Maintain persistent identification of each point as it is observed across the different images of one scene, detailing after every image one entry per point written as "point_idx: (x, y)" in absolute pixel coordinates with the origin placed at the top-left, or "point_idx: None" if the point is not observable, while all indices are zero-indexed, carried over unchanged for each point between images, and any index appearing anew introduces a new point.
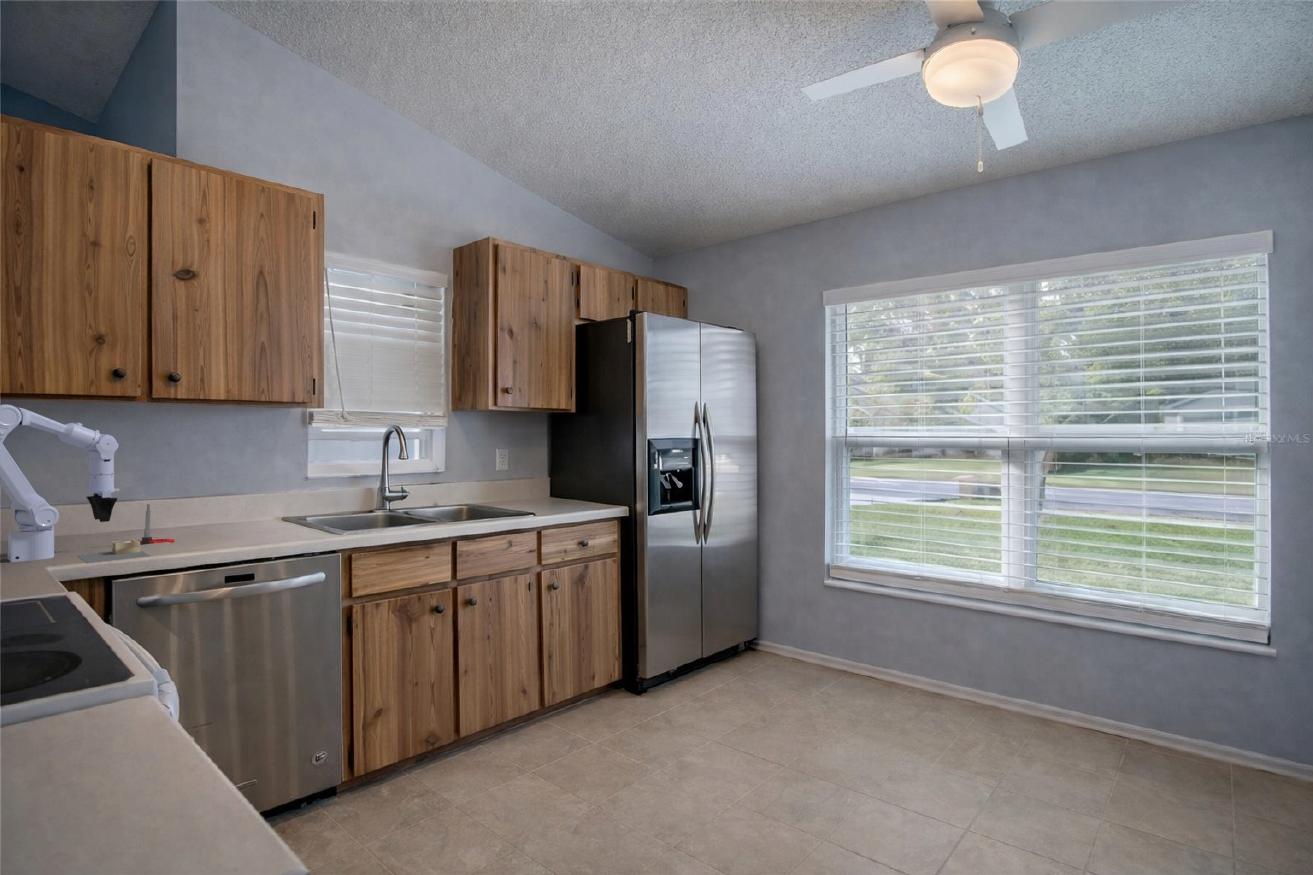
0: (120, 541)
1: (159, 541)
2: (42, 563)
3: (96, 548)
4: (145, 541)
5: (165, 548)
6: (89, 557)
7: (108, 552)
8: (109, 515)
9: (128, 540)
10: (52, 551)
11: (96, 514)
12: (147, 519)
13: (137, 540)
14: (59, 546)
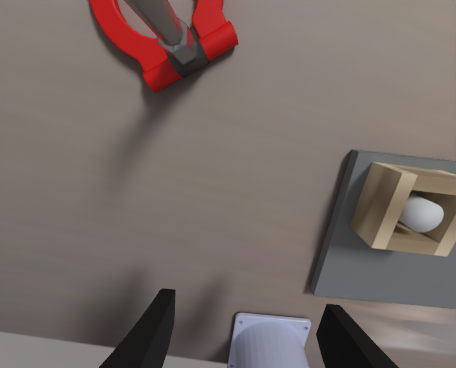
0: (393, 227)
1: (212, 4)
2: (307, 338)
3: (140, 206)
4: (198, 66)
5: (358, 40)
6: (387, 286)
7: (345, 234)
8: (368, 343)
9: (398, 201)
10: (297, 347)
11: (163, 350)
12: (161, 6)
13: (439, 179)
14: (12, 258)
